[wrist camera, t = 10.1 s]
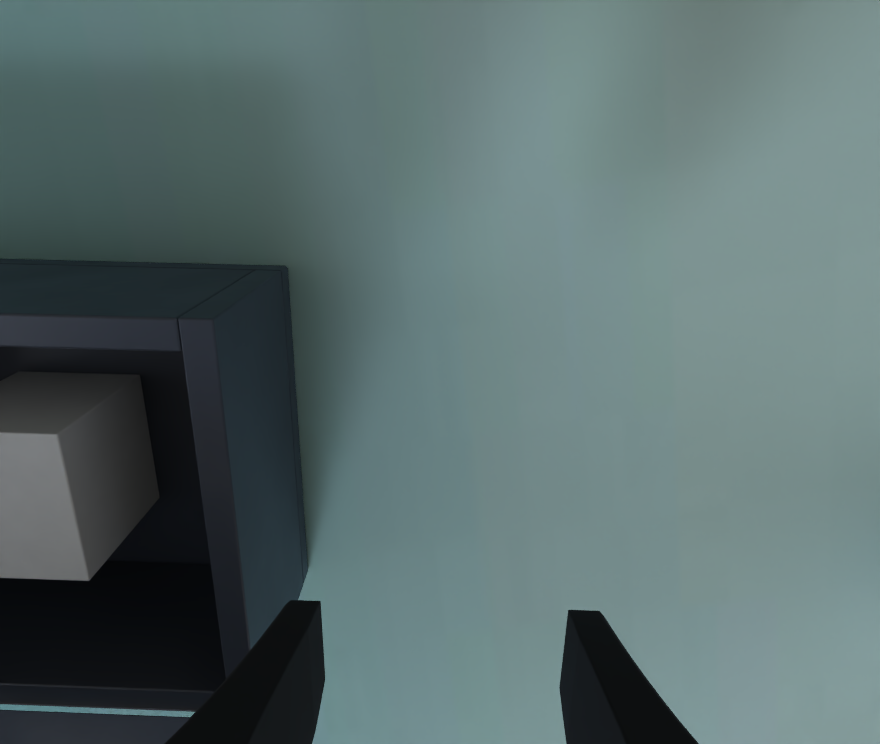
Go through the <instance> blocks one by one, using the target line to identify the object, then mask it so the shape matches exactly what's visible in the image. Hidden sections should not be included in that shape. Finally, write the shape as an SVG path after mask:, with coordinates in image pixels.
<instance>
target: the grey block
mask: <svg viewBox="0 0 880 744" xmlns="http://www.w3.org/2000/svg"><path fill="white" fill-rule="evenodd" d="M158 499H159V490H158V484H157V478H156V472H155V465H154V459H153V453H152V447H151V441H150V434H149V428H148V422H147V416H146V409H145V403H144V397H143V391H142V385H141V378H140V375H130V374H95V373H59V372H23V371H19V372H17V373H15V374H13V375H11V376H9V377H7V378H5V379H3V380H1V381H0V578H19V579H48V580H77V581H89V580H90V579H91V578H92V577H93V576H94V575H95V573H96V572H97V571H98V570H99V569H100V568H101V566H102V565H103V564H104V563H105V562H106V560H107V559H108V558H109V557H110V556H111V555H112V553H113V552H114V551H115V550H116V549H117V547H118V546H119V545H120V544H121V543H122V542H123V540H124V539H125V538H126V537H127V536H128V534H129V533H130V532H131V531H132V530H133V529H134V527H135V526H136V525H137V524H138V523H139V521H140V520H141V519H142V518H143V517H144V516H145V514H146V513H147V512H148V511H149V510H150V508H151V507H152V506H153V505H154V504H155V502H156V501H157V500H158Z"/></svg>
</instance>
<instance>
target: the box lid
mask: <svg viewBox="0 0 880 744" xmlns="http://www.w3.org/2000/svg"><path fill="white" fill-rule="evenodd" d="M189 718H190V717H168V716H143V715H117V714H92V713H67V712H41V711H16V710H0V744H164V743H165V742H166V741H167V740H168V739H169V738H170V737H171V736H173V735H174V734H175V733H176V732H177V731H178V730H179V729H180V728H181V727H182V726H183V725H184V724H185V723H186V722H187V721H188V720H189Z"/></svg>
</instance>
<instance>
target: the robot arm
mask: <svg viewBox="0 0 880 744" xmlns="http://www.w3.org/2000/svg"><path fill="white" fill-rule="evenodd" d="M324 682H325V669H324V653H323V636H322V619H321V603H320V601H302V600H290V601H289V602H288V603H287V604H285V606H284V607H283V608H282V610H281V611H280V613H279V614H278V615H277V617H276V618H275V619H274V621H273V622H272V623H271V624H270V626H269V627H268V628H267V630H266V631H265V632H264V634H263V635H262V636H261V637H260V639H259V640H258V641H257V642H256V644H255V645H254V646H253V647H252V649H251V650H250V651H249V652H248V654H247V655H246V656H245V657H244V658H243V659H242V661H241V662H240V663H239V664H238V665H237V667H236V668H235V669H234V670H233V671H232V672H231V674H230V675H229V676H228V677H227V678H226V679H225V681H224V682H223V683H222V684H221V685H220V686H219V687H218V689H217V690H216V691H215V692H214V693H213V694H212V695H211V696H210V697H209V698H208V699H207V700H206V701H205V702H204V704H203V705H202V706H201V707H200V708H199V709H198V710H197V711H196V712H195V713H194V714H193V715H192V716H191V717H190V718H189V720H188V721H187V722H186V723H185V724H184V725H183V726H182V727H181V728H180V729H179V730H178V731H177V732H176V733H175V734H174V735H173V736H171V737H170V738H169V739H168V740H167V741H166V742H165V743H164V744H312V741H313V738H314V734H315V730H316V725H317V720H318V715H319V710H320V704H321V699H322V693H323V688H324ZM560 695H561V704H562V712H563V720H564V728H565V735H566V742H567V744H698V742H697V741H696V740H695V739H694V738H693V737H692V735H691V734H690V733H689V732H688V731H687V729H686V728H685V727H684V726H683V725H682V723H681V722H680V721H679V720H678V719H677V717H676V716H675V715H674V714H673V712H672V711H671V710H670V709H669V707H668V706H667V705H666V703H665V702H664V701H663V700H662V698H661V697H660V696H659V694H658V693H657V692H656V690H655V689H654V688H653V686H652V685H651V684H650V682H649V681H648V680H647V679H646V677H645V676H644V674H643V673H642V672H641V670H640V669H639V668H638V666H637V665H636V663H635V662H634V660H633V659H632V658H631V656H630V655H629V653H628V652H627V650H626V649H625V648H624V646H623V645H622V643H621V642H620V640H619V639H618V637H617V636H616V634H615V633H614V631H613V630H612V628H611V626H610V625H609V623H608V622H607V620H606V619H605V617H604V616H603V615H602V614H601V613H600V611H584V610H568V618H567V627H566V636H565V645H564V653H563V662H562V671H561V680H560Z"/></svg>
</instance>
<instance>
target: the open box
mask: <svg viewBox="0 0 880 744" xmlns="http://www.w3.org/2000/svg"><path fill="white" fill-rule="evenodd" d="M19 371H23V372H59V373H95V374H130V375H140V378H141V385H142V391H143V397H144V403H145V409H146V416H147V422H148V428H149V434H150V441H151V447H152V453H153V459H154V465H155V472H156V478H157V484H158V490H159V499H158V500H157V501H156V502H155V504H154V505H153V506H152V507H151V508H150V510H149V511H148V512H147V513H146V514H145V516H144V517H143V518H142V519H141V520H140V521H139V523H138V524H137V525H136V526H135V527H134V529H133V530H132V531H131V532H130V533H129V534H128V536H127V537H126V538H125V539H124V540H123V542H122V543H121V544H120V545H119V546H118V547H117V549H116V550H115V551H114V552H113V553H112V555H111V556H110V557H109V558H108V559H107V560H106V562H105V563H104V564H103V565H102V566H101V568H100V569H99V570H98V571H97V572H96V573H95V575H94V576H93V577H92V578H91V579H90V580H89V581H77V580H48V579H19V578H0V704H12V705H38V706H64V707H89V708H115V709H140V710H166V711H191V712H196V711H197V710H198V709H199V708H200V707H201V706H202V705H203V704H204V702H205V701H206V700H207V699H208V698H209V697H210V696H211V695H212V694H213V693H214V692H215V691H216V690H217V689H218V687H219V686H220V685H221V684H222V683H223V682H224V681H225V679H226V678H227V677H228V676H229V675H230V674H231V672H232V671H233V670H234V669H235V668H236V667H237V665H238V664H239V663H240V662H241V661H242V659H243V658H244V657H245V656H246V655H247V654H248V652H249V651H250V650H251V649H252V647H253V646H254V645H255V644H256V642H257V641H258V640H259V639H260V637H261V636H262V635H263V634H264V632H265V631H266V630H267V628H268V627H269V626H270V624H271V623H272V622H273V621H274V619H275V618H276V617H277V615H278V614H279V613H280V611H281V610H282V608H283V607H284V606H285V604H287V603H288V602H289V601H290V600H298V598H299V595H300V592H301V589H302V587H303V583H304V580H305V577H306V575H307V572H308V563H307V548H306V533H305V518H304V503H303V488H302V473H301V459H300V444H299V429H298V414H297V399H296V384H295V369H294V354H293V339H292V325H291V310H290V295H289V280H288V268H287V266H272V265H231V264H190V263H149V262H107V261H66V260H25V259H0V381H1V380H3V379H5V378H7V377H9V376H11V375H13V374H15V373H17V372H19Z"/></svg>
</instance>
